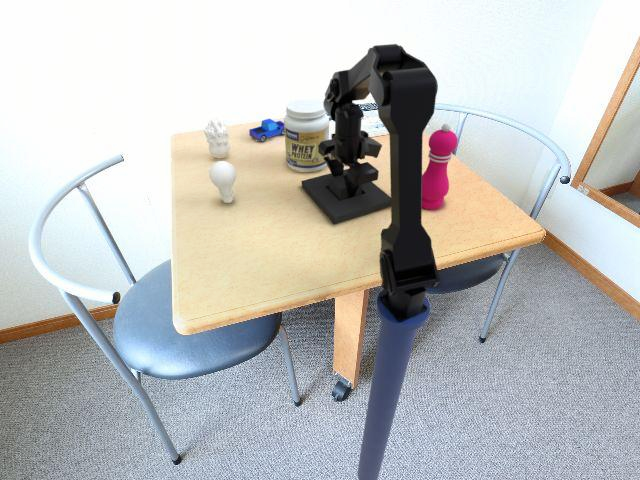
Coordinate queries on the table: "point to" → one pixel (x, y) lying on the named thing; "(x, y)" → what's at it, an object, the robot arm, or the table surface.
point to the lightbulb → (223, 179)
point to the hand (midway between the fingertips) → (345, 191)
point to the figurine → (217, 138)
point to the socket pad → (347, 208)
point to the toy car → (267, 130)
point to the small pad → (341, 188)
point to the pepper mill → (438, 168)
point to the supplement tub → (305, 134)
